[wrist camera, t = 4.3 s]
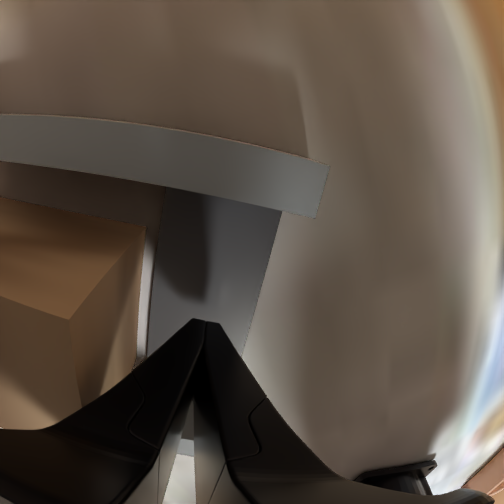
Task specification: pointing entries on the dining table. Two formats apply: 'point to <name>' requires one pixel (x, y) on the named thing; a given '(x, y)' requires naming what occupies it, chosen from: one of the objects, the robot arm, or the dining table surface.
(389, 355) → the dining table surface
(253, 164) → the grey u-shaped frame
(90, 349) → the walnut block
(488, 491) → the brown rectangular tray
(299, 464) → the robot arm
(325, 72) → the dining table surface
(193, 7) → the dining table surface
